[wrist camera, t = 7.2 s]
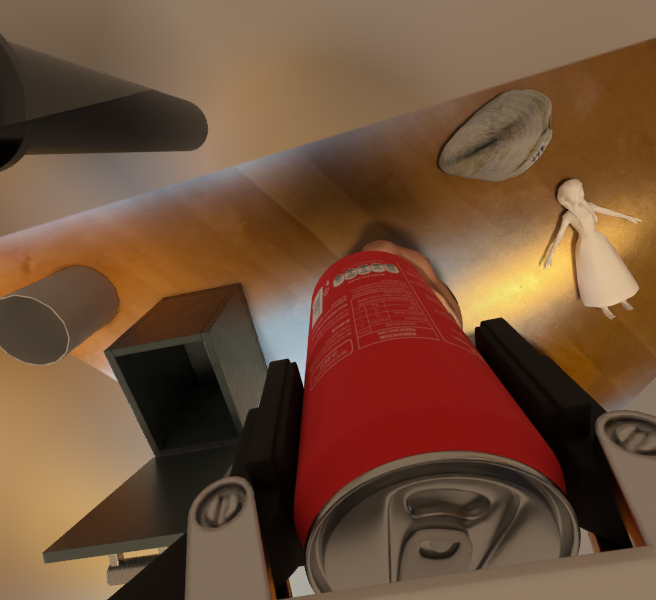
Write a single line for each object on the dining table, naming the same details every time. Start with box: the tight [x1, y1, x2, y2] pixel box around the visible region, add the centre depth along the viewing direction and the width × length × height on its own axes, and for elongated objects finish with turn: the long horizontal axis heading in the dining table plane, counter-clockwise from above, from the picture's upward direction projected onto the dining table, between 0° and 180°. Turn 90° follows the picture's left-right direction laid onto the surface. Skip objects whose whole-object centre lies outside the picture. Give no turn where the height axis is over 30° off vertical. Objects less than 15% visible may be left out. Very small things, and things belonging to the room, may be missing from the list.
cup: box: [0, 266, 119, 366], centre depth 44 cm, size 8×8×10 cm
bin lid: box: [43, 444, 238, 586], centre depth 33 cm, size 14×11×5 cm
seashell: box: [439, 89, 552, 182], centre depth 39 cm, size 12×8×5 cm
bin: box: [104, 283, 268, 457], centre depth 44 cm, size 14×11×14 cm
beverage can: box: [294, 251, 581, 594], centre depth 12 cm, size 5×5×12 cm
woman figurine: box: [543, 179, 642, 319], centre depth 44 cm, size 12×4×18 cm
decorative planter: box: [361, 240, 463, 330], centre depth 42 cm, size 20×12×14 cm, turn 29°
